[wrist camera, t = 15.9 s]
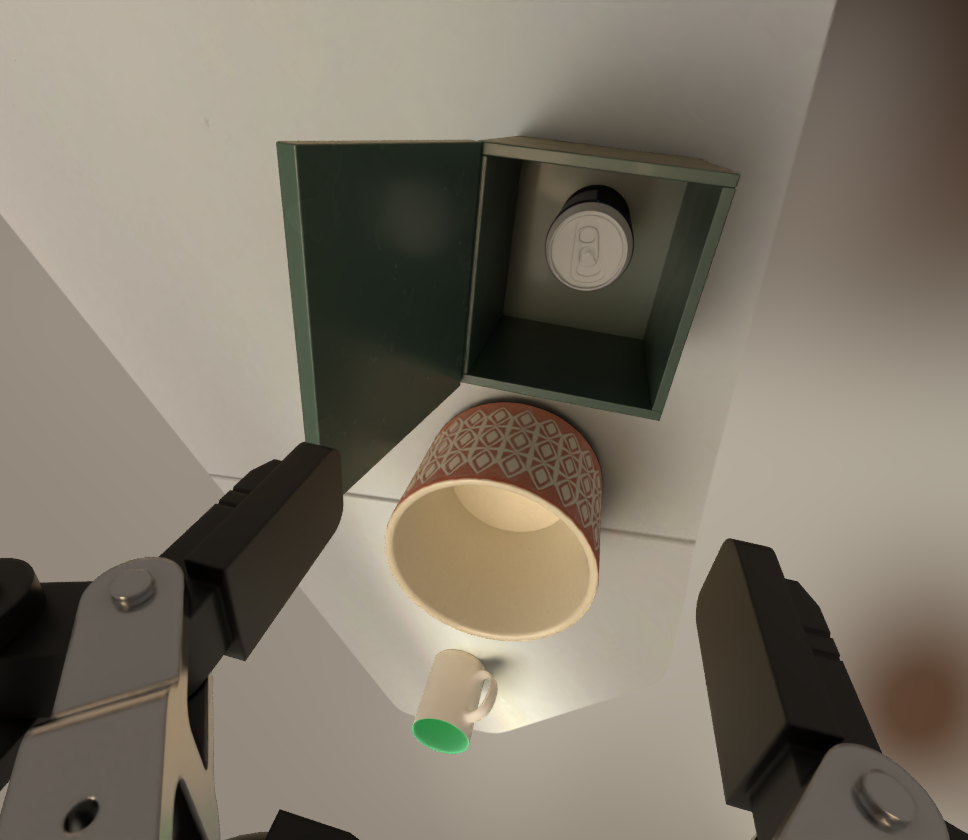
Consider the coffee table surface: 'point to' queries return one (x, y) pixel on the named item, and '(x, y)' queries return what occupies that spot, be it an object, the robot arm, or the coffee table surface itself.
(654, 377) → the bin
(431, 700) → the mug
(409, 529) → the planter
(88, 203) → the coffee table surface
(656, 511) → the coffee table surface
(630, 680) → the coffee table surface
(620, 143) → the coffee table surface
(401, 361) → the bin lid
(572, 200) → the beverage can
